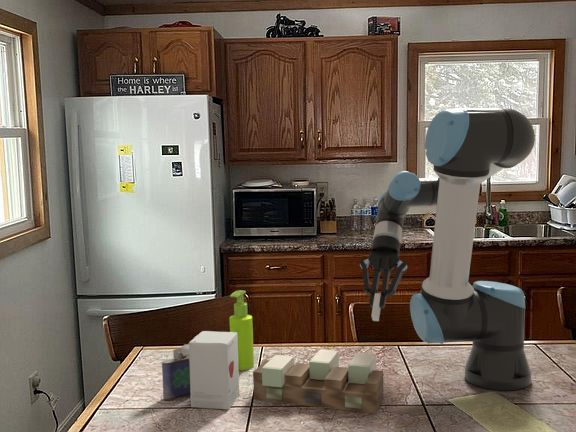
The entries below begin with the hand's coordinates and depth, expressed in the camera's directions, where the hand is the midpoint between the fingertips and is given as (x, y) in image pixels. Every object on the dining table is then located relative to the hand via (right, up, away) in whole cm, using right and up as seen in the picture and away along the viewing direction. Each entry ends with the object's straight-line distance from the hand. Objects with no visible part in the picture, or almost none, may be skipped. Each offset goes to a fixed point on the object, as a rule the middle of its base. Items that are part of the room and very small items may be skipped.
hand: (375, 318), depth 161 cm
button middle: (-13, -11, -12) cm, 21 cm away
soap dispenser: (-34, -14, +5) cm, 37 cm away
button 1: (-24, -11, -16) cm, 31 cm away
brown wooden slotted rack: (-15, -15, -17) cm, 28 cm away
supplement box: (-38, -16, -17) cm, 45 cm away
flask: (-46, -16, -13) cm, 51 cm away
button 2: (-5, -11, -15) cm, 19 cm away
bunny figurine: (-48, -14, +8) cm, 50 cm away
